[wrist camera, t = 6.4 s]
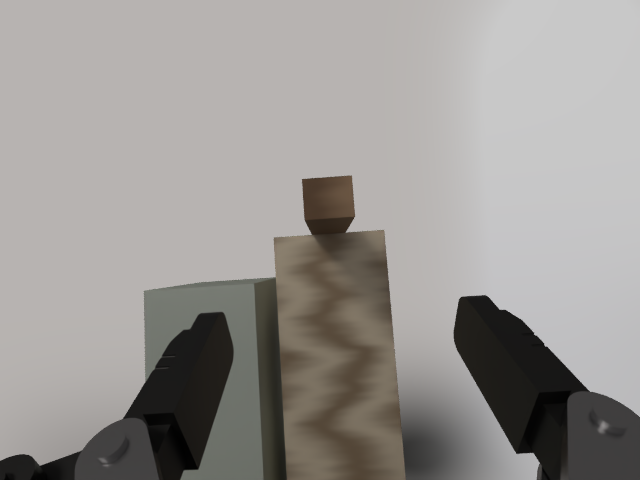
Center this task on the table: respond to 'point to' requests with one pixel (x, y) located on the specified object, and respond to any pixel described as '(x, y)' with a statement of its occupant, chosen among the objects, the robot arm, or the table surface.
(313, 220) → the bar
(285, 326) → the tall stand
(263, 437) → the low stand
